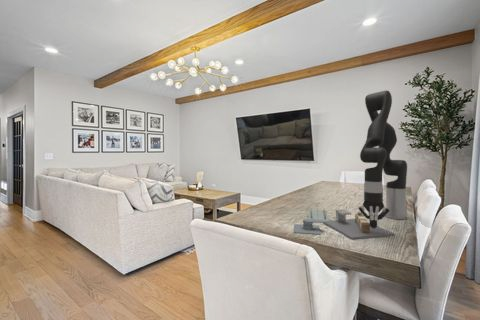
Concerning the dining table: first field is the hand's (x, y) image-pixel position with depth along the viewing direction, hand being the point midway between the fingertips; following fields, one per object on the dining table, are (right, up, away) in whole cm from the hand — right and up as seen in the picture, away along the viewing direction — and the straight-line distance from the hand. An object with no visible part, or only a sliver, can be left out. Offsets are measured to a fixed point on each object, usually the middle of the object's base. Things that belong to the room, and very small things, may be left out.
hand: (373, 227), depth 106 cm
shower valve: (-27, -4, +7) cm, 29 cm away
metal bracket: (-17, -3, +25) cm, 31 cm away
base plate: (-4, -3, +8) cm, 9 cm away
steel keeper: (-7, -2, +15) cm, 17 cm away
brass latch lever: (-1, -1, +8) cm, 8 cm away
